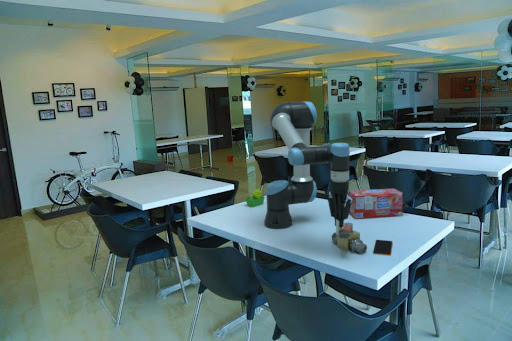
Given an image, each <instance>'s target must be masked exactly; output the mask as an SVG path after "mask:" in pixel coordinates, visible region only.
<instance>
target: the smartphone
mask: <svg viewBox="0 0 512 341" xmlns="http://www.w3.org/2000/svg"><path fill="white" fill-rule="evenodd" d="M392 250H393V241H392V240H386V239H376V240H375V241H374V247H373V250H372V254H373V255H380V256H390V257H391V256H392Z"/></svg>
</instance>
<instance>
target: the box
mask: <svg viewBox="0 0 512 341" xmlns="http://www.w3.org/2000/svg"><path fill="white" fill-rule="evenodd" d="M348 193H349V197H350V198H353V199H354V201H353V202H352V204H351V208H350V212H349V215H351V217H353V219H356V220H358V219H375V218H376V219H377V218H393V217H394V218H395V217H402V216H403V202H404V201H403V196H404V195H403V194H404V193H403V192H402V191H400V190H398V189H396V188H379V189H378V188H377V189H375V188H373V189H358V190H357V189H356V190H348Z"/></svg>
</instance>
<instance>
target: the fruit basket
mask: <svg viewBox="0 0 512 341" xmlns="http://www.w3.org/2000/svg"><path fill="white" fill-rule="evenodd" d="M265 197H266V196H264V195H262V191H261V189H260V188H256V189H255V190H254V191H253V193H252V196H249V197H245V198H244V199H245V200H244V201H245V203H246V205H247V207H251V208H255V207H258V206H263V205H264V201H265V199H266V198H265Z"/></svg>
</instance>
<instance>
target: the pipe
mask: <svg viewBox="0 0 512 341" xmlns="http://www.w3.org/2000/svg"><path fill="white" fill-rule="evenodd" d="M331 241H332V242H334V245H336V246H337V247H338V248H339V249H342V250H344V251H345V252H352V253H354V254H355V253H358V254H361V255H363V254H365V253H366V252H367V249H368V247H367V244H366V243H364V242H363V240H362V239H361V233H360V232H358V231H356V230H353V232H352V233H349V237H348V239H344V238H339V235H337V234H336V231H335V232H334V233H333V234H331Z"/></svg>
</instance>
